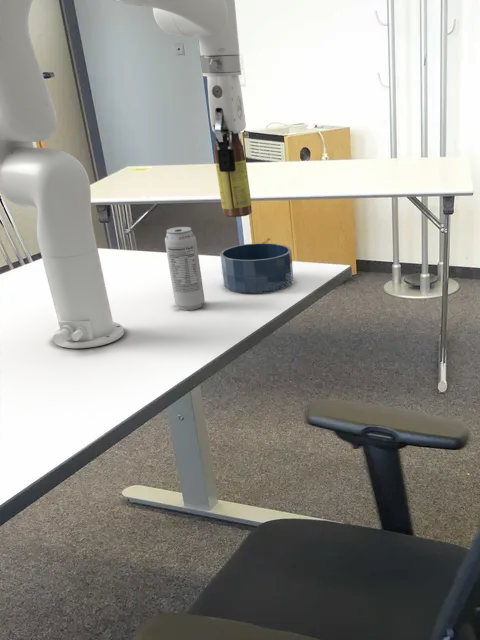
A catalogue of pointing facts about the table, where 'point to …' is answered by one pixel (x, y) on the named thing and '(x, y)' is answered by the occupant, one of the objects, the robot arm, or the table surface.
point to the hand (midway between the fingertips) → (231, 167)
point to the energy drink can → (184, 268)
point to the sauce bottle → (234, 183)
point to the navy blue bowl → (257, 267)
